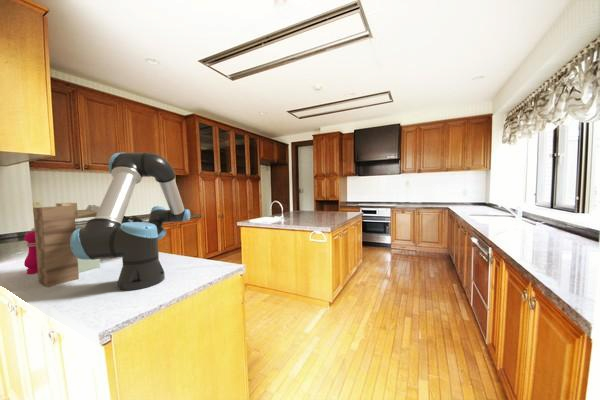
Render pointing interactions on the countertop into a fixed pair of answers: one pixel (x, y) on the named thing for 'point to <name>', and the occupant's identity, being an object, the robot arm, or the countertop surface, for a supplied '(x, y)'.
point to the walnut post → (55, 245)
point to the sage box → (87, 261)
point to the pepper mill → (31, 253)
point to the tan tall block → (79, 211)
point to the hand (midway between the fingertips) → (89, 207)
